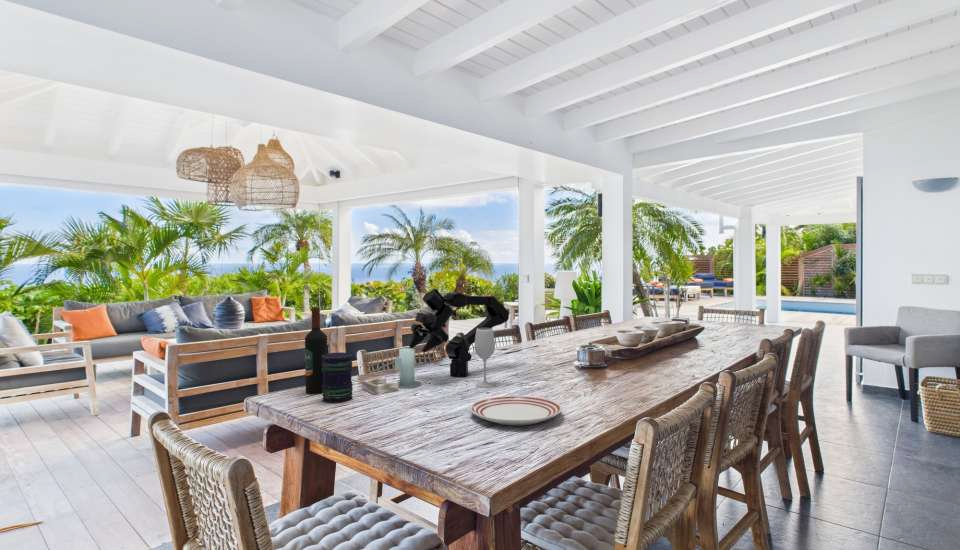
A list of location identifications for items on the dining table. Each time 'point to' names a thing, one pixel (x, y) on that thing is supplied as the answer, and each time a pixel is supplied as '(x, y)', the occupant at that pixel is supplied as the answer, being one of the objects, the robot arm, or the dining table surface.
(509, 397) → the dinner plate
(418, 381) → the grey flat disc
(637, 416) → the dining table surface
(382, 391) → the frame
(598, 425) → the dining table surface
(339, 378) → the storage jar
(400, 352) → the pale green rounded piece
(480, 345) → the wineglass
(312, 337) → the wine bottle
